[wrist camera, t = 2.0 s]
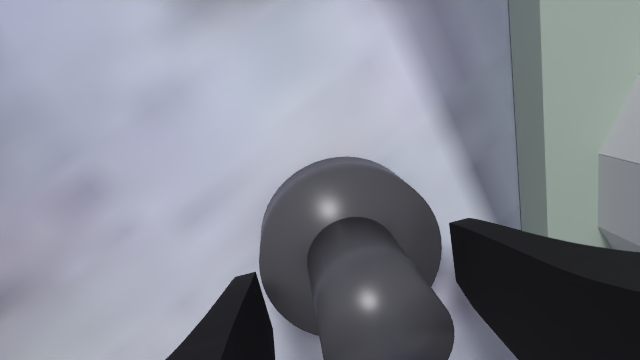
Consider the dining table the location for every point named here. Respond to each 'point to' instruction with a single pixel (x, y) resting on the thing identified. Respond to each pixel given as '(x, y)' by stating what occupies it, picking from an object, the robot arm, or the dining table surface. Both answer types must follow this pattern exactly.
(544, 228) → the mount board
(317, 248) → the joystick
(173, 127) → the dining table surface
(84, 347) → the dining table surface
